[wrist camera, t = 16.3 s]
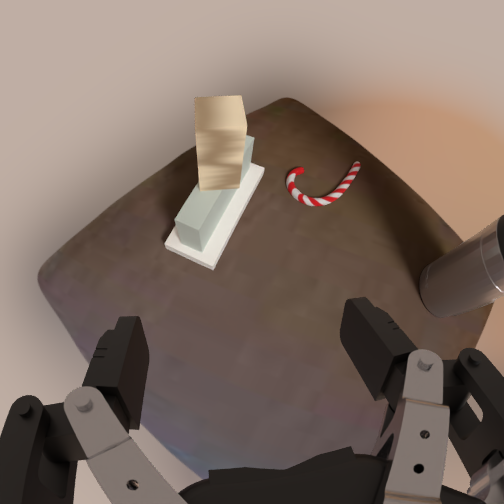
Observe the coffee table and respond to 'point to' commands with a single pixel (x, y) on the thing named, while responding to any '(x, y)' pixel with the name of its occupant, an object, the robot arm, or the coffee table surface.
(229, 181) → the pine block
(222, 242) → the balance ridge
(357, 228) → the coffee table surface
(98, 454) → the robot arm
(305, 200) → the candy cane
